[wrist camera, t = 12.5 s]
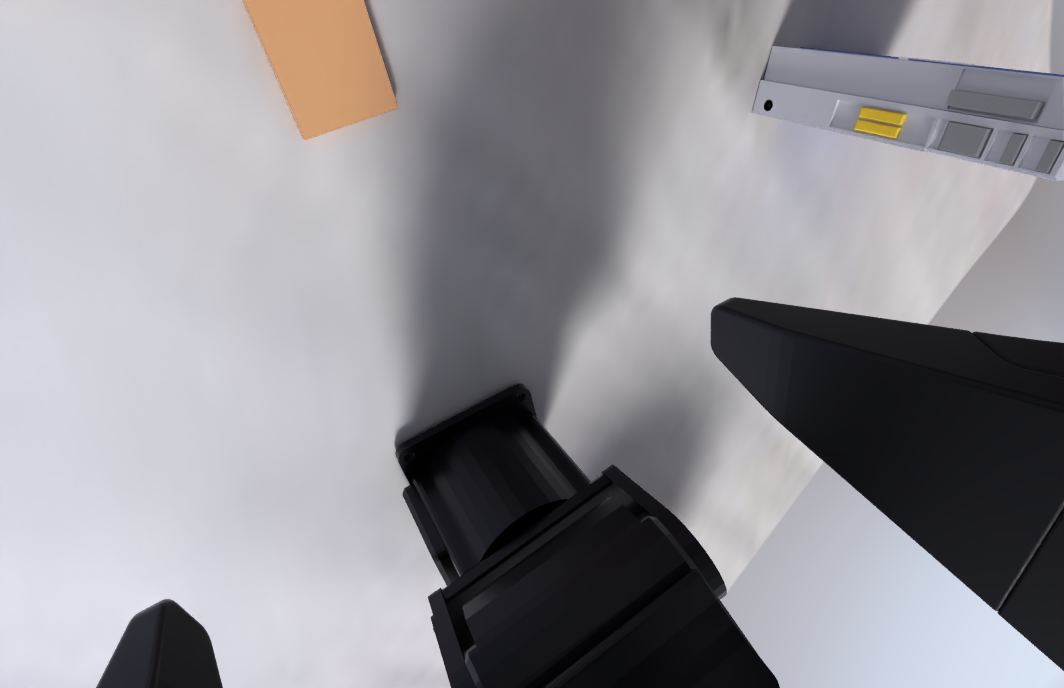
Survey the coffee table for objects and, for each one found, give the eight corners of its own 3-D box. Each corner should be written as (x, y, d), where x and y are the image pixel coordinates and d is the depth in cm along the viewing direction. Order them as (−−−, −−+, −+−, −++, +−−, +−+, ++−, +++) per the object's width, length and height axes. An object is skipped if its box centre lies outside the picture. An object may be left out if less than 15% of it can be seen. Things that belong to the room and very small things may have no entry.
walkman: (880, 54, 28) (1219, 89, 19) (858, 115, 29) (1165, 175, 20) (768, 42, 24) (1123, 80, 15) (750, 113, 26) (1065, 185, 17)
